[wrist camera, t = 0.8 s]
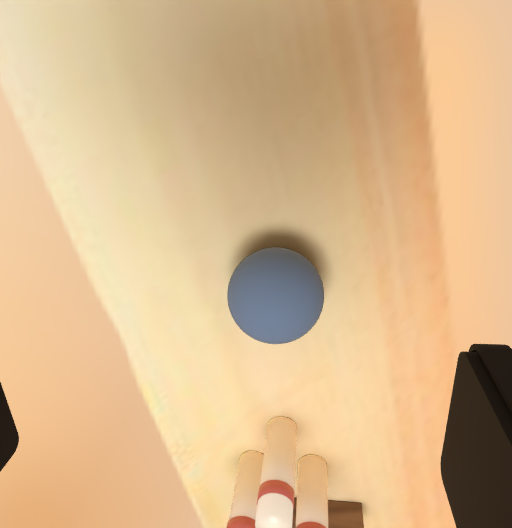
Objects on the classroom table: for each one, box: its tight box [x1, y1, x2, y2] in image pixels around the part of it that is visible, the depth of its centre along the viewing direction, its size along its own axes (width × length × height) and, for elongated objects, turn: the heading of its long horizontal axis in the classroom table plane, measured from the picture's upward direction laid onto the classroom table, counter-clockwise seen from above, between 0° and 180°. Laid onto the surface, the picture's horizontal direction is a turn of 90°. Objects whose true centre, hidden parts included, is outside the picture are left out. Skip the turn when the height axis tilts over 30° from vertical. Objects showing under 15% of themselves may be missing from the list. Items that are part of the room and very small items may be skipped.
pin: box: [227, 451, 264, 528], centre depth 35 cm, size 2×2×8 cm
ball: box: [228, 247, 324, 344], centre depth 28 cm, size 6×6×6 cm
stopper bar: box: [292, 498, 364, 528], centre depth 39 cm, size 2×10×3 cm, turn 92°
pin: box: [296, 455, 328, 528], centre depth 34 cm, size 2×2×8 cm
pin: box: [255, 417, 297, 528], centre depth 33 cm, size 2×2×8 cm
